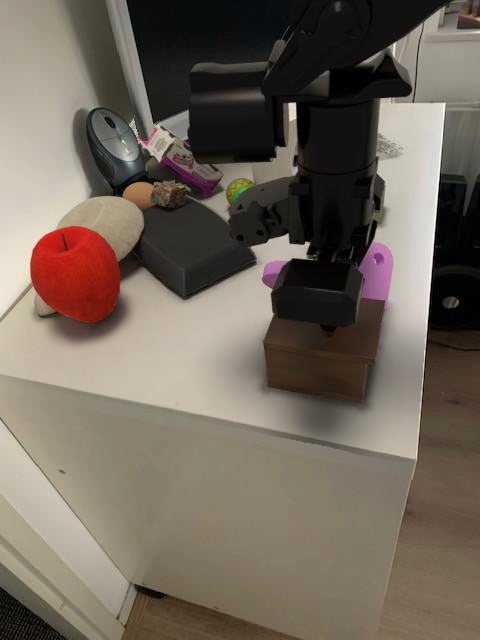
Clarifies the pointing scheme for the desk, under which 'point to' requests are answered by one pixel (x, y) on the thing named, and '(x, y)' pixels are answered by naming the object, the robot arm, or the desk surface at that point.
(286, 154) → the cup
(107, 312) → the apple
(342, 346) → the lid
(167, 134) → the candy bar box
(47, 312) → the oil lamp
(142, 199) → the egg
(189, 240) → the hard drive
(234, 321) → the desk surface
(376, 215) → the block
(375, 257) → the bracket
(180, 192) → the rock
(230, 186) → the egg
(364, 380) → the chest
